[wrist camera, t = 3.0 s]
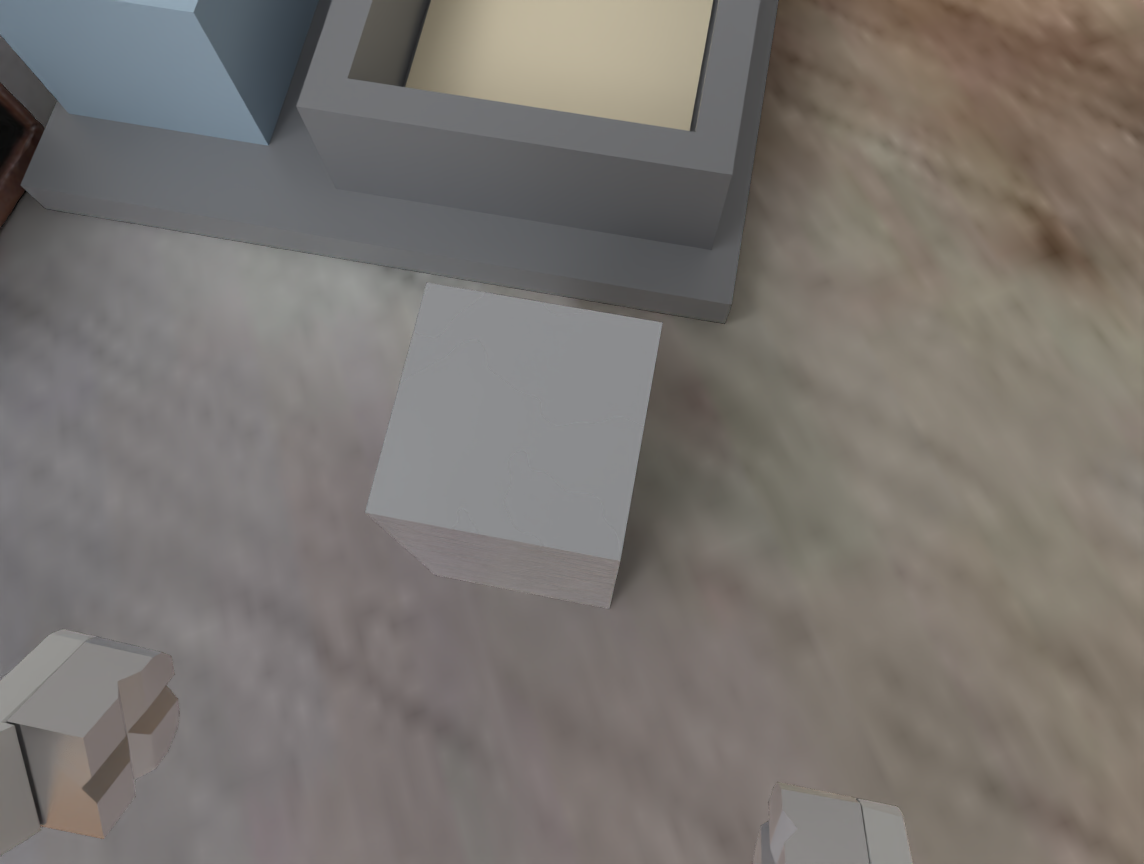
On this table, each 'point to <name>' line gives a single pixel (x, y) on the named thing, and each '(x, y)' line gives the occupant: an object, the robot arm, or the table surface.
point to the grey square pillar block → (516, 442)
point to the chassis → (418, 132)
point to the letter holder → (15, 149)
